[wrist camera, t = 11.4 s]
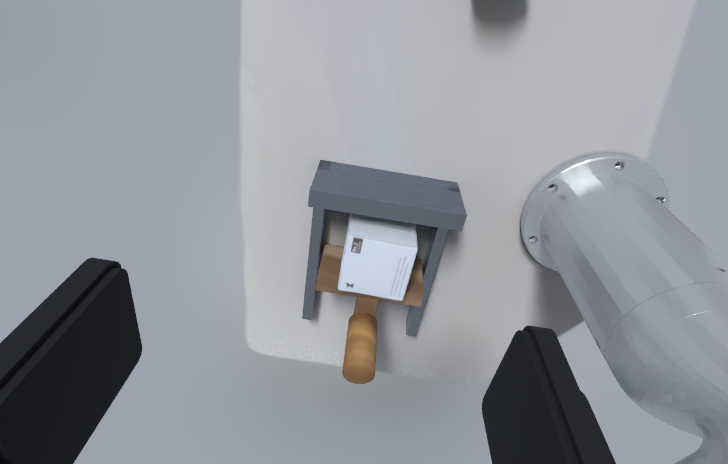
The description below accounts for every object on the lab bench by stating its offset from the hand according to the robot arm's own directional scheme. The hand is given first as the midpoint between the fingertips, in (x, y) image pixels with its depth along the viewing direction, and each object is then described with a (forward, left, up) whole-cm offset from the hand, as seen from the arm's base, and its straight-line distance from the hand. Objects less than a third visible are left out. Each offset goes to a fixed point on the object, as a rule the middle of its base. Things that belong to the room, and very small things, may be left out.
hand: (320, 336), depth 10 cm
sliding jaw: (-12, +17, -28) cm, 35 cm away
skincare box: (-9, +11, -29) cm, 32 cm away
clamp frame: (-10, +14, -28) cm, 33 cm away
